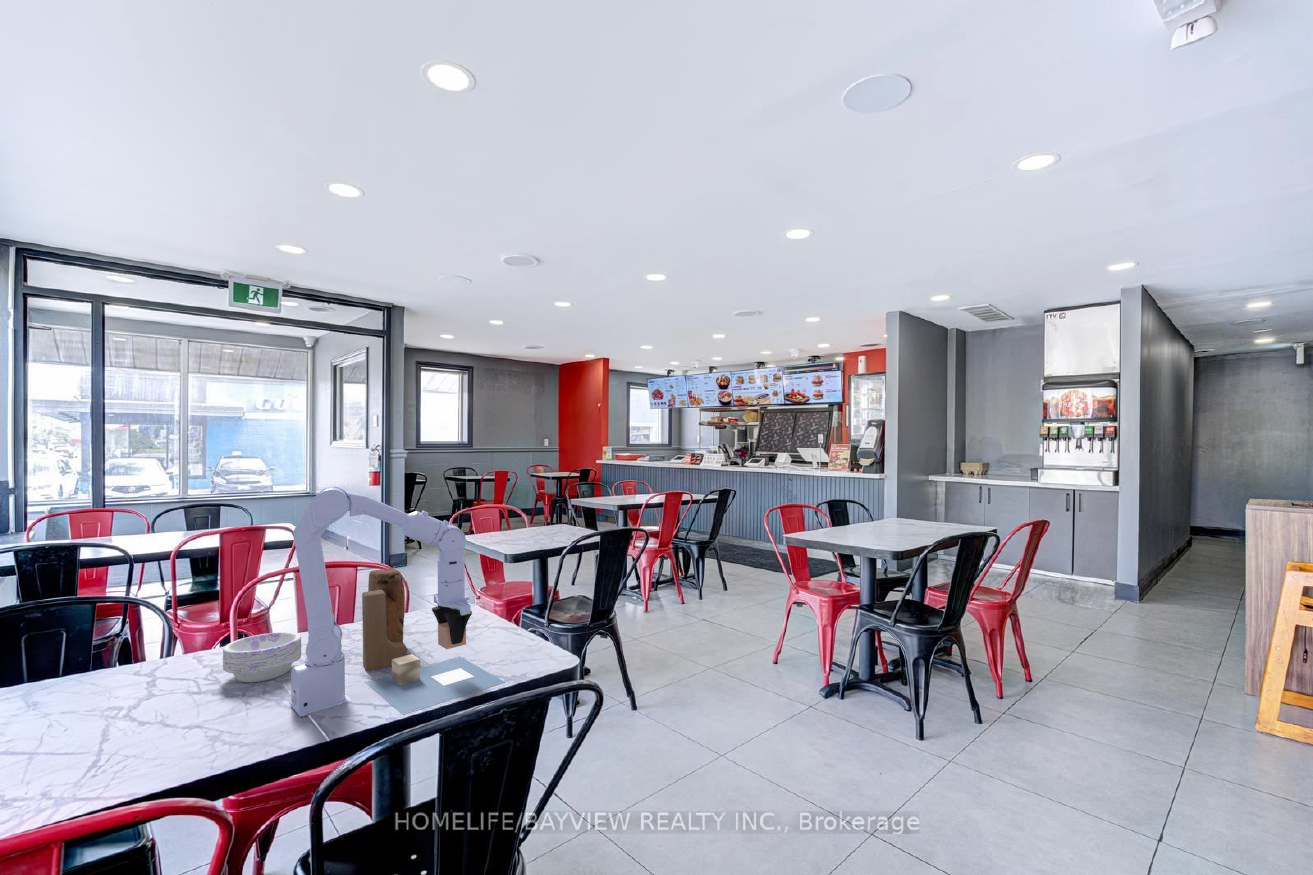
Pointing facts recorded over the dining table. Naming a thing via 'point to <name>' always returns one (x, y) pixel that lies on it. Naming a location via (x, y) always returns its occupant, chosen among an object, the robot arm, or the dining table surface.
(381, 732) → the dining table surface
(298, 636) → the paper bowls
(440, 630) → the terracotta block
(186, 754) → the dining table surface
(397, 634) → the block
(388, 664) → the wooden block
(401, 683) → the maple block
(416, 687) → the board
